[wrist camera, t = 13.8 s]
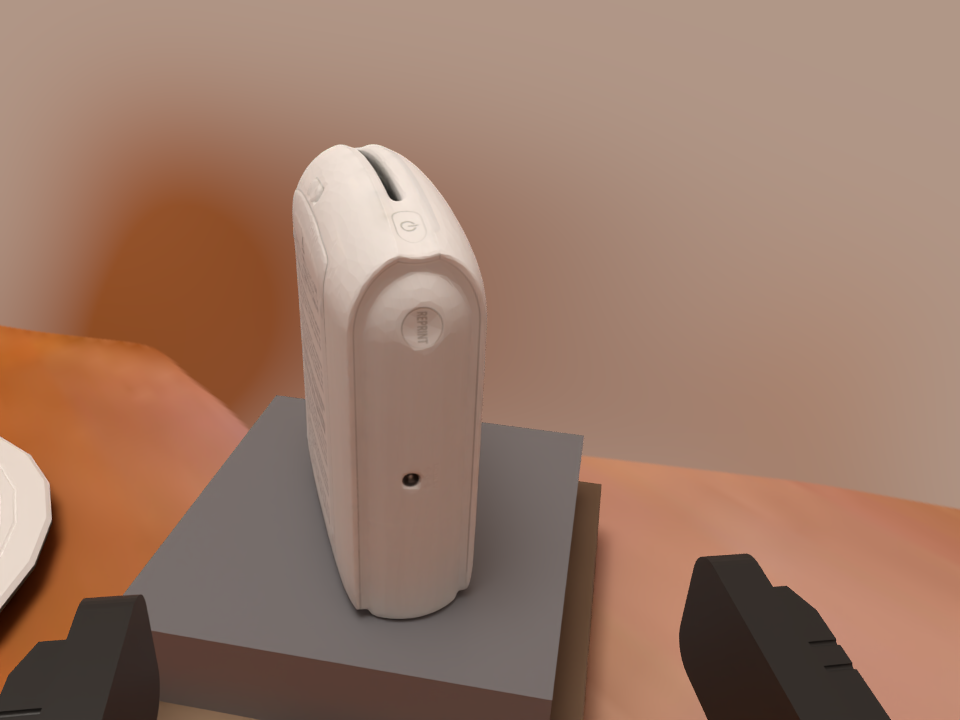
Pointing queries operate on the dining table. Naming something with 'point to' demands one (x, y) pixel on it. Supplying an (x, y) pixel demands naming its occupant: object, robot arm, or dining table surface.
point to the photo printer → (390, 376)
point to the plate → (21, 517)
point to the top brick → (328, 609)
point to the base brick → (573, 626)
